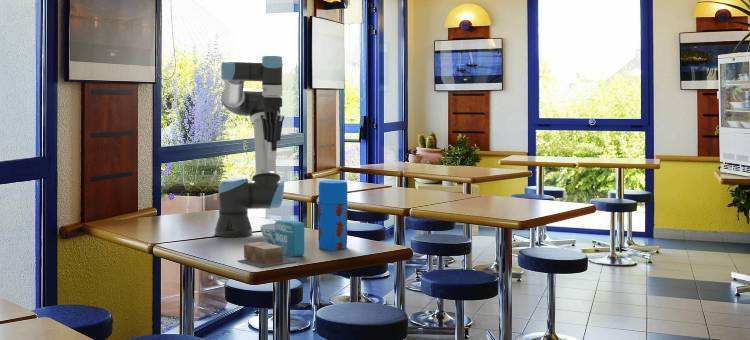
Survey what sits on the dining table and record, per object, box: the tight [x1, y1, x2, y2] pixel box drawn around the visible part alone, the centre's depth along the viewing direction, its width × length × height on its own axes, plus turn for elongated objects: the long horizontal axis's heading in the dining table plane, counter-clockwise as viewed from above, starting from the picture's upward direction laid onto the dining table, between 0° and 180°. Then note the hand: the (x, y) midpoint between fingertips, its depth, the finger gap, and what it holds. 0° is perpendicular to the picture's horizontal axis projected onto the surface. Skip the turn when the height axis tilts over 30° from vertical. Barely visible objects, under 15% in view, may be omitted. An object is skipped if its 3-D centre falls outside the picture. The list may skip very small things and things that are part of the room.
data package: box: [274, 219, 306, 258], centre depth 274 cm, size 12×4×12 cm, turn 43°
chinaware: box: [260, 222, 275, 245], centre depth 291 cm, size 15×15×8 cm
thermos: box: [318, 180, 348, 252], centre depth 287 cm, size 11×11×25 cm
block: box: [243, 241, 284, 264], centre depth 262 cm, size 5×7×13 cm
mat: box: [237, 257, 297, 269], centre depth 261 cm, size 14×14×1 cm
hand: (272, 159), depth 290 cm, fingers closed
